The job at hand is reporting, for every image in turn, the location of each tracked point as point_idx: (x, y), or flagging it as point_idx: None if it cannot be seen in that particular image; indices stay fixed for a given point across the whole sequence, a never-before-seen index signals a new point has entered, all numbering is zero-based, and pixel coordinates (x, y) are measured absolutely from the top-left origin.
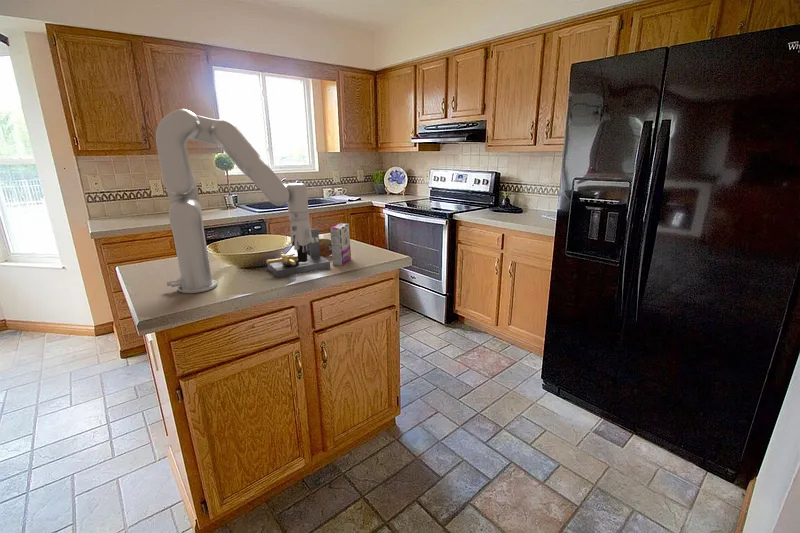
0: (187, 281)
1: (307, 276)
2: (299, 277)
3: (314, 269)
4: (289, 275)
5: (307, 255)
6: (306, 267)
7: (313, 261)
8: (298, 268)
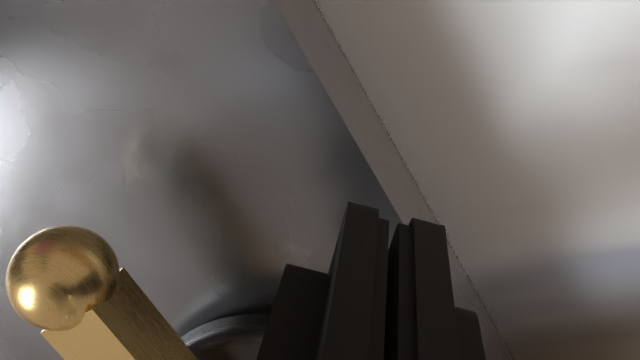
0: None
1: (606, 82)
2: (625, 201)
3: (306, 2)
4: (499, 338)
5: (54, 248)
6: (376, 158)
7: (71, 68)
8: None
